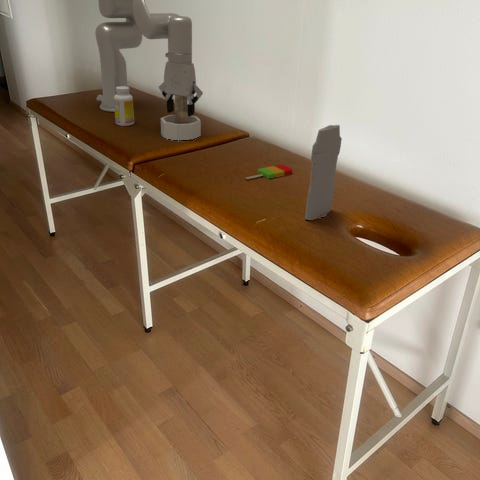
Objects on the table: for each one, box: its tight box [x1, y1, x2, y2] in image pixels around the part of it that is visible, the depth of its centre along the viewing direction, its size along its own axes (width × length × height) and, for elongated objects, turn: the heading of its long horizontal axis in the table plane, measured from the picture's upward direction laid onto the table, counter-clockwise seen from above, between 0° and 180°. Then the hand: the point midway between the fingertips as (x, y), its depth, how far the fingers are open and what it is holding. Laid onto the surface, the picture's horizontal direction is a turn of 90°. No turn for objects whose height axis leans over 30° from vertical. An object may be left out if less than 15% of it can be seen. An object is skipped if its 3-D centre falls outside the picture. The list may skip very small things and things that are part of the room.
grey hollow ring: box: [160, 114, 202, 142], centre depth 175 cm, size 13×13×6 cm
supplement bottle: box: [114, 86, 135, 127], centre depth 183 cm, size 7×7×13 cm
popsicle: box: [245, 164, 293, 180], centre depth 146 cm, size 6×15×2 cm, turn 125°
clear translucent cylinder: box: [174, 95, 188, 124], centre depth 173 cm, size 3×3×14 cm
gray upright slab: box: [304, 124, 343, 220], centre depth 119 cm, size 11×4×22 cm, turn 136°
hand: (180, 113), depth 173 cm, fingers open, 7 cm apart
